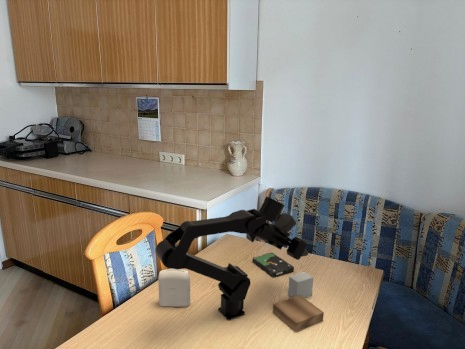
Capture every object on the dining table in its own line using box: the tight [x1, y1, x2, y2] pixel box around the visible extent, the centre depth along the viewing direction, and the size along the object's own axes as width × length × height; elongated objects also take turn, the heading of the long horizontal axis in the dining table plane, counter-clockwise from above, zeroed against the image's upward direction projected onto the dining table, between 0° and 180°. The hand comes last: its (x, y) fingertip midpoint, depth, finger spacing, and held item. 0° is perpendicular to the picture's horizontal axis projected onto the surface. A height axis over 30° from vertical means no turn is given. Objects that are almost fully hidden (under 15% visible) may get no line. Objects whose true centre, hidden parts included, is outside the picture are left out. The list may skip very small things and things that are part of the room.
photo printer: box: [157, 268, 191, 308], centre depth 115 cm, size 10×4×12 cm, turn 90°
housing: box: [287, 271, 314, 299], centre depth 123 cm, size 7×4×7 cm, turn 121°
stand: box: [272, 295, 325, 333], centre depth 111 cm, size 11×11×3 cm
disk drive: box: [251, 252, 295, 279], centre depth 143 cm, size 10×3×15 cm
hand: (298, 249), depth 121 cm, fingers open, 9 cm apart
